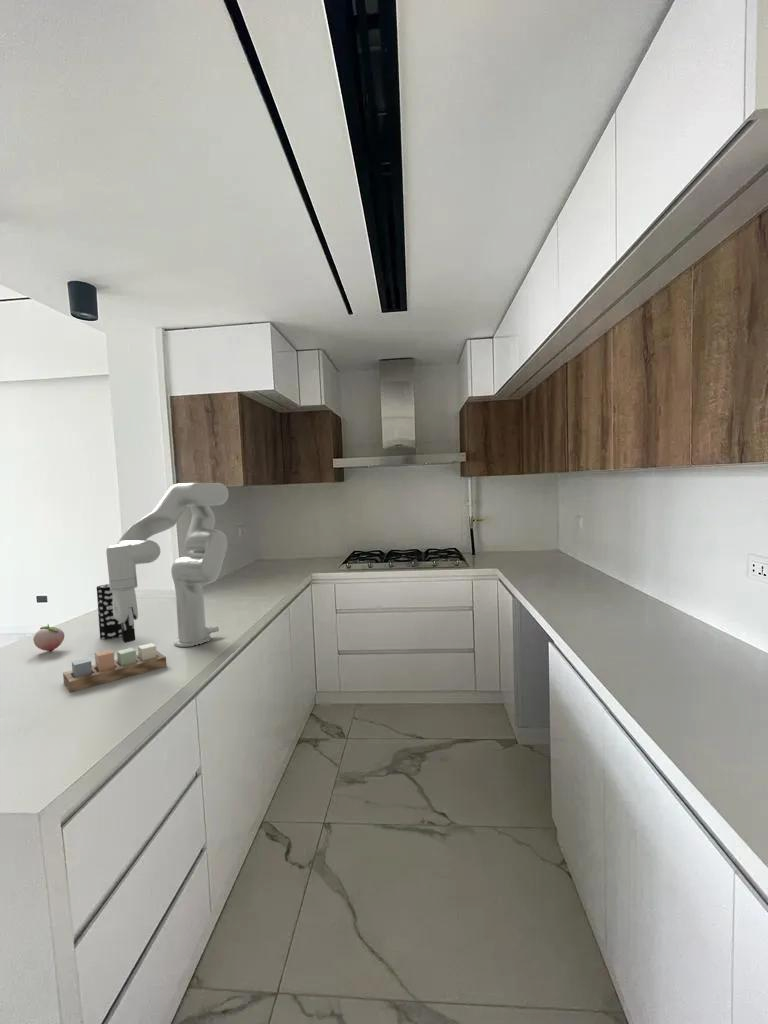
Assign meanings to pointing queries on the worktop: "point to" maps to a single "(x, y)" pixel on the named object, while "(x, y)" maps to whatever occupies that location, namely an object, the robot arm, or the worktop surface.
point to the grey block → (81, 667)
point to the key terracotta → (104, 660)
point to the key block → (113, 672)
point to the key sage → (126, 656)
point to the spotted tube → (107, 614)
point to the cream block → (147, 651)
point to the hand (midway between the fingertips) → (129, 640)
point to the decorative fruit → (48, 638)
